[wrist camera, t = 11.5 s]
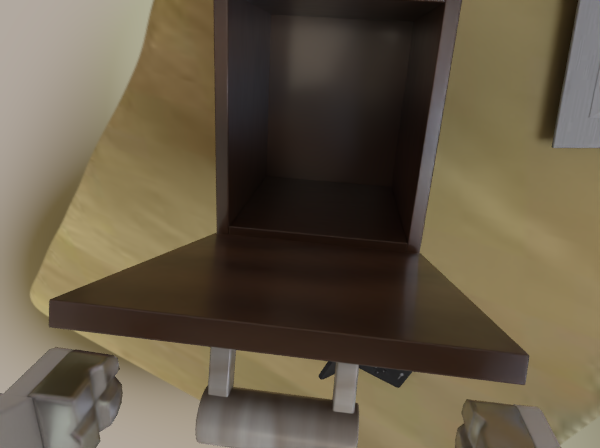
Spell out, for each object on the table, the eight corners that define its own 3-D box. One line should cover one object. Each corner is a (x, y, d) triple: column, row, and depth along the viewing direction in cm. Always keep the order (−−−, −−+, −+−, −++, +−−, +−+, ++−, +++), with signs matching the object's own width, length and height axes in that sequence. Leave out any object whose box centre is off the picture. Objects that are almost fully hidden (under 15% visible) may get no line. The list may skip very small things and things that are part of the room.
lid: (48, 299, 12) (44, 470, 12) (530, 355, 11) (503, 541, 11) (214, 233, 27) (209, 311, 28) (420, 253, 26) (411, 334, 27)
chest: (263, 3, 35) (212, -26, 22) (424, 11, 34) (464, -15, 21) (259, 181, 40) (216, 236, 28) (398, 193, 39) (419, 256, 27)
